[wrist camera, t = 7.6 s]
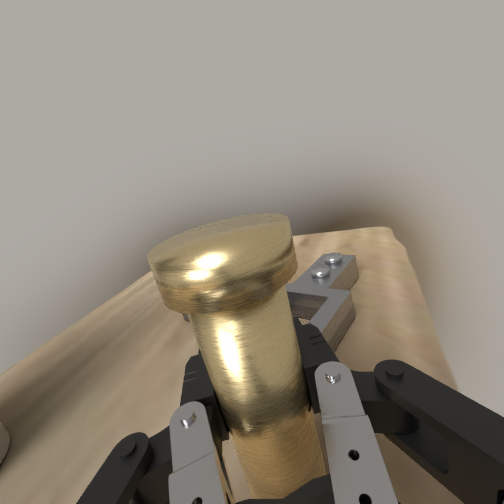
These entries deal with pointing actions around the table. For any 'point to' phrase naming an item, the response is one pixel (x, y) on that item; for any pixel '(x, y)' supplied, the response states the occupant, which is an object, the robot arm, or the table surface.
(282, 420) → the brass pin
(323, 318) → the bolted corner bracket
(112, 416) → the table surface
